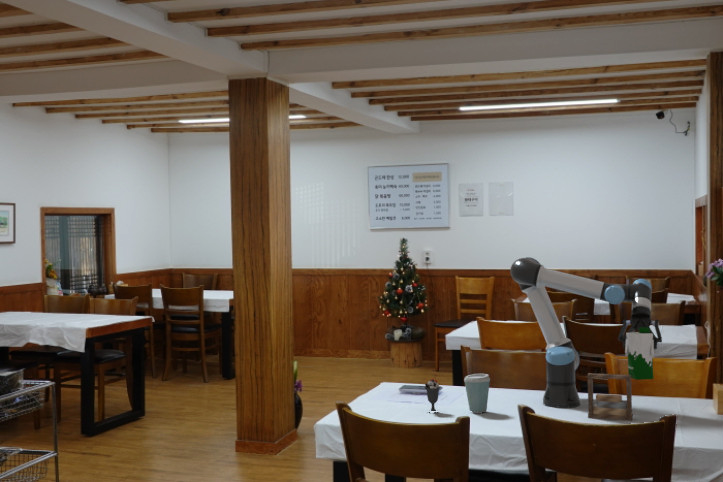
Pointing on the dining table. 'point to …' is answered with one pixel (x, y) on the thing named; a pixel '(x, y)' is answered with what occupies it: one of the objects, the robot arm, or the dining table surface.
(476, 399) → the disposable coffee cup
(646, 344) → the soya milk
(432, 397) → the sundae
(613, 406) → the offcut rack
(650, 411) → the dining table surface
